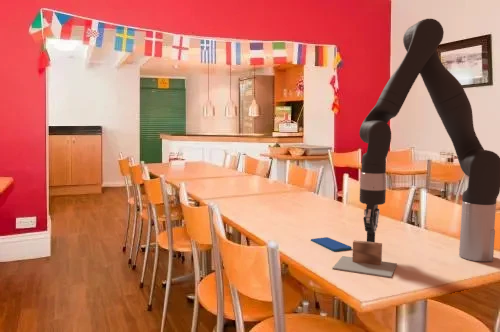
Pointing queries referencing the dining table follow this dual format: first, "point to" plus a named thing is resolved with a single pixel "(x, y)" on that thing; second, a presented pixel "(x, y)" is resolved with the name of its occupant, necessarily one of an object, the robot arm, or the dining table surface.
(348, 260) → the mat
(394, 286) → the dining table surface
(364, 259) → the wooden toy block
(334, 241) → the smartphone
